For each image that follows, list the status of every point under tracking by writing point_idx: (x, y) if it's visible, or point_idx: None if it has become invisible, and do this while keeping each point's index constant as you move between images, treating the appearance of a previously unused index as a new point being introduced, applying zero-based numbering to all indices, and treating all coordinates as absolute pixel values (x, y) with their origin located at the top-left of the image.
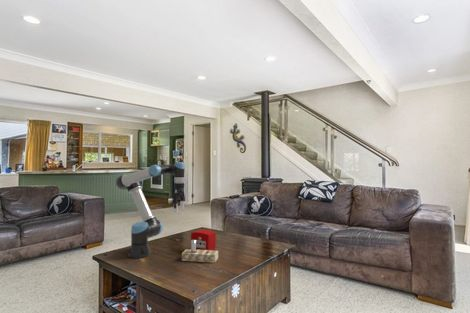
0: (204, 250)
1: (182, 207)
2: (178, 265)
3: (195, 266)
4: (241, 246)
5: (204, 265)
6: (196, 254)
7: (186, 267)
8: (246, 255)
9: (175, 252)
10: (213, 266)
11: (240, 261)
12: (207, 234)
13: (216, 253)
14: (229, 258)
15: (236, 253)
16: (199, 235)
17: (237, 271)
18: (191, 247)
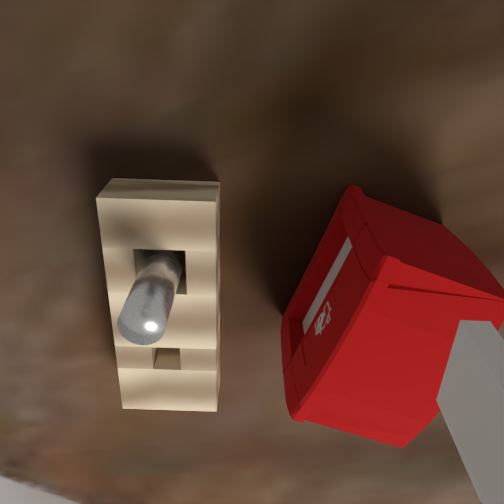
0: (204, 336)
1: (464, 426)
2: (16, 184)
3: (39, 290)
4: (444, 464)
5: (72, 333)
6: (110, 303)
7: (3, 244)
8: (279, 491)
9: (290, 60)
10: (74, 377)
11: (182, 474)
12: (302, 411)
13: (163, 408)
14: (217, 429)
15: (307, 451)
16: (327, 333)
17: (49, 473)
18: (135, 280)
